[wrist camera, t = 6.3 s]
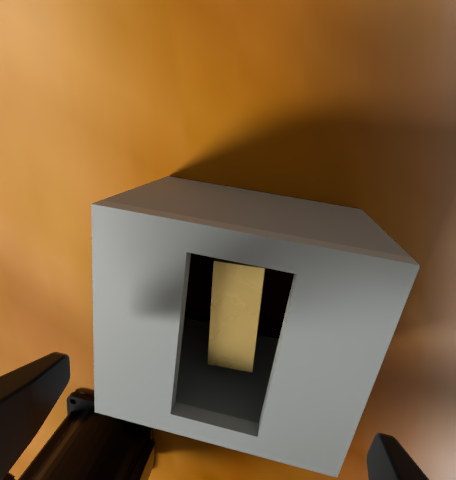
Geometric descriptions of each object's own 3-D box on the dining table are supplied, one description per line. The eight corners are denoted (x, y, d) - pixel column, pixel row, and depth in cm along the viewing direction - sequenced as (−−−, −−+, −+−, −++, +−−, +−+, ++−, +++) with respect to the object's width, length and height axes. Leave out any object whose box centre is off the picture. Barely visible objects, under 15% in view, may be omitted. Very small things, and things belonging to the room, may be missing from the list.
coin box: (158, 318, 19) (94, 412, 13) (168, 176, 16) (91, 203, 10) (317, 354, 18) (337, 477, 12) (361, 209, 15) (420, 265, 9)
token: (226, 305, 18) (207, 364, 14) (233, 225, 17) (213, 261, 12) (260, 310, 18) (252, 372, 13) (270, 230, 16) (264, 268, 12)
